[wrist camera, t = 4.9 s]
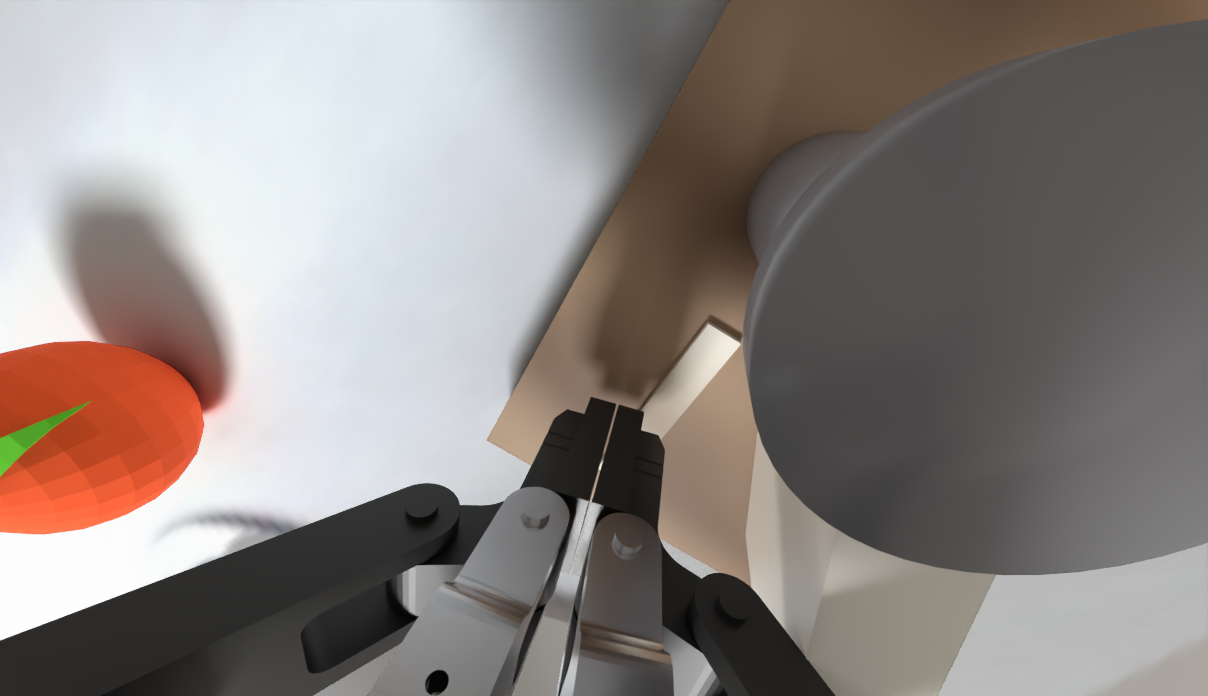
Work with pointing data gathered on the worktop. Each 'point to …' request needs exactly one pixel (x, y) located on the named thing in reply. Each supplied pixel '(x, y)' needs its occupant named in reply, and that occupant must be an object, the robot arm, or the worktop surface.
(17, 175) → the worktop surface
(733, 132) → the board
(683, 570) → the robot arm
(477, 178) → the worktop surface
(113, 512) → the clementine
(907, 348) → the knob
